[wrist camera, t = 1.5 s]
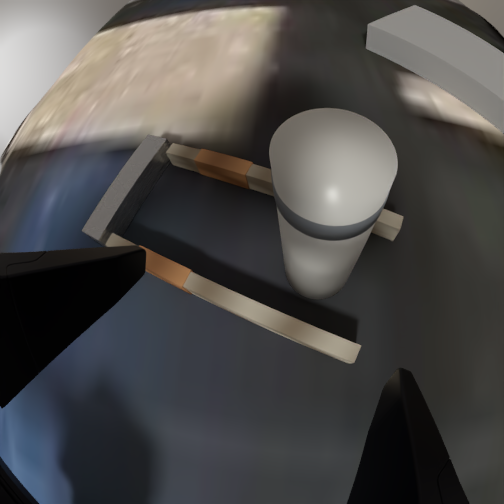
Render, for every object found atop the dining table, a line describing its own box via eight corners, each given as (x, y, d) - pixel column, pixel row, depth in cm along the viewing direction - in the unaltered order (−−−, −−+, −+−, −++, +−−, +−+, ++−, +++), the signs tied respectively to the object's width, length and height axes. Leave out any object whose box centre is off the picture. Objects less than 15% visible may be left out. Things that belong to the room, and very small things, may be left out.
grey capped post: (310, 313, 21) (326, 235, 9) (271, 261, 23) (242, 141, 11) (362, 274, 22) (423, 165, 10) (322, 226, 23) (337, 93, 12)
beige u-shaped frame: (396, 227, 23) (405, 212, 20) (348, 364, 19) (355, 364, 17) (157, 149, 29) (148, 133, 27) (95, 243, 26) (81, 231, 24)
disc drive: (507, 141, 25) (523, 115, 20) (364, 51, 33) (367, 22, 28) (522, 94, 28) (532, 73, 23) (412, 26, 36) (415, 3, 31)
